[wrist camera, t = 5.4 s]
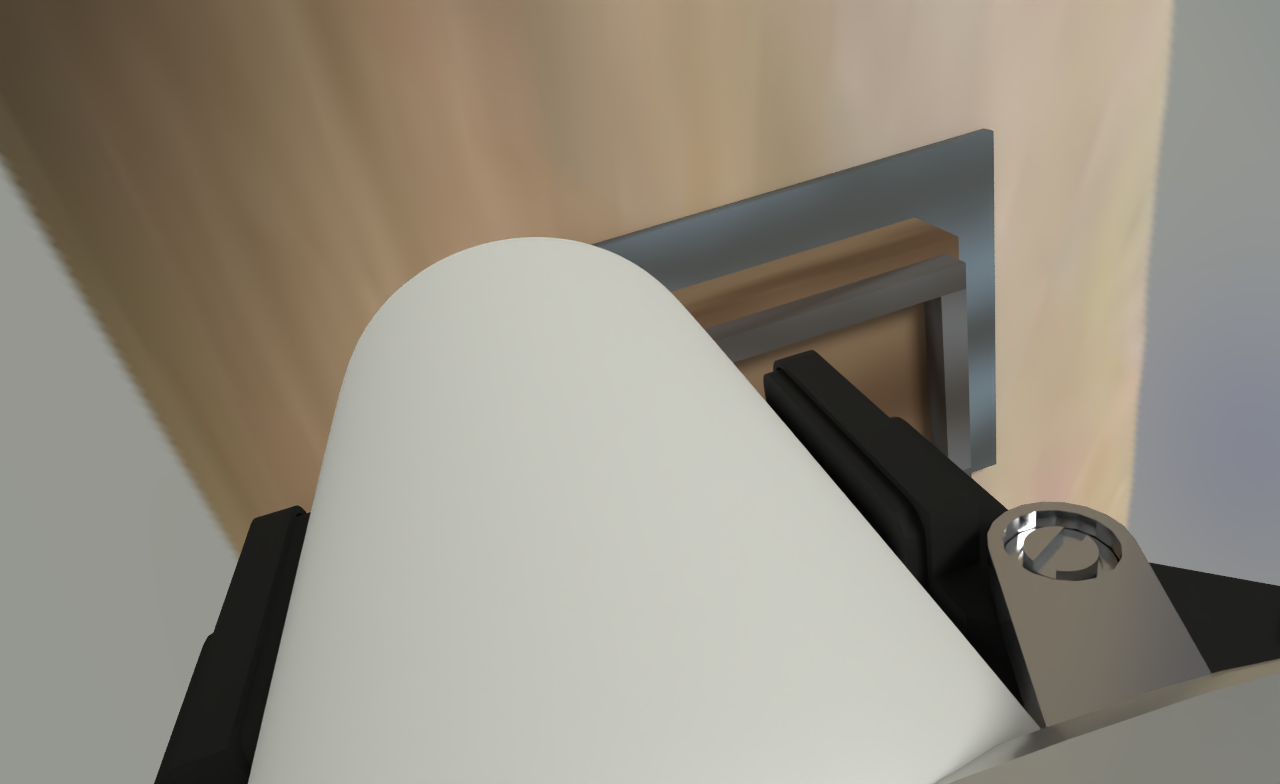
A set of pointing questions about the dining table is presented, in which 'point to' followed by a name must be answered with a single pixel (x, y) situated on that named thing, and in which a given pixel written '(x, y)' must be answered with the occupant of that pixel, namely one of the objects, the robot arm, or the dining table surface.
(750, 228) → the board
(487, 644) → the can
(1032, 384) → the dining table surface
